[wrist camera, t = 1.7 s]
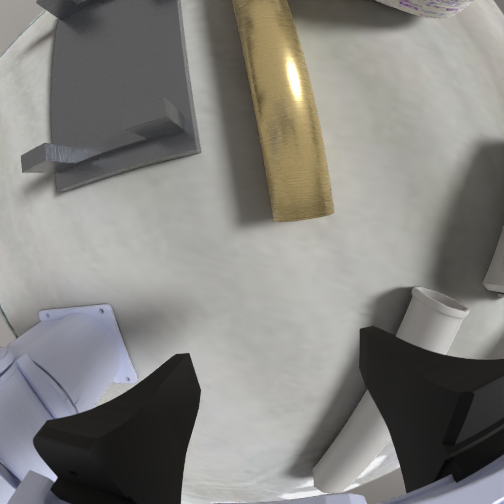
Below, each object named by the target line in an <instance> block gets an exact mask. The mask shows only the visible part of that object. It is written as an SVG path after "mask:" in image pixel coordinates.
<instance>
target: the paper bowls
mask: <svg viewBox="0 0 504 504" xmlns="http://www.w3.org/2000/svg"><path fill="white" fill-rule="evenodd" d="M375 1H377V2H380V3H382V4H385V5H387V6H390V7H394V8H397V9H399V10H402V11H405V12H407V13H410V14H414V15H417V16H421V17H426V18H448V17H451V16H453V15H455V14H457V13H458V12H460V11H461V10H462V9H464V8H465V7H466V6H468V5H469V4H470V3H471V2H472V1H473V0H375Z"/></svg>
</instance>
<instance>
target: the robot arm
mask: <svg viewBox="0 0 504 504" xmlns="http://www.w3.org/2000/svg"><path fill="white" fill-rule="evenodd" d="M101 309H103V311H104V312H102V311H101ZM48 314H49V315H48ZM38 315H39V318H40V321H41V322H39V323H38V324H37V325H35V326H34V327H32V328H31V329H30V330H28V331H27V332H25V333H24V334H23V335H21V336H20V337H18V338H17V339H16V340H14V341H13V342H12V343H10V344H9V345H8V346H7V347H6V348H3V347H0V460H1V461H2V462H3V463H4V465H5V466H4V465H3V464H2V463H1V462H0V504H181V490H182V480H183V471H184V464H185V457H186V452H187V448H188V444H189V441H190V437H191V434H192V430H193V427H194V424H195V420H196V417H197V413H198V409H199V403H200V394H201V389H200V386H199V383H198V379H197V376H196V373H195V370H194V367H193V364H192V360H191V357H190V354H189V353H185V354H175V355H174V356H173V357H171V358H170V359H169V360H167V361H166V362H165V363H164V364H162V365H161V366H160V367H159V368H158V369H156V370H155V371H154V372H153V373H151V374H150V375H149V376H148V377H146V378H145V379H144V380H142V381H141V382H140V383H138V384H137V385H135V386H134V387H133V388H131V389H130V390H128V391H127V392H125V393H123V394H122V395H120V396H118V397H116V398H115V399H113V400H111V401H109V402H106V403H104V404H102V405H100V406H97V407H95V405H96V404H97V402H98V401H99V400H100V398H101V397H102V395H103V394H104V392H105V391H106V390H107V388H108V387H109V385H110V384H111V383H136V382H137V380H138V377H137V375H136V372H135V370H134V367H133V365H132V362H131V360H130V357H129V355H128V352H127V350H126V347H125V344H124V342H123V339H122V336H121V333H120V330H119V328H118V325H117V322H116V319H115V316H114V313H113V310H112V307H111V306H110V305H109V304H100V305H90V306H80V307H70V308H59V309H48V310H41V311H39V313H38ZM359 368H360V371H361V374H362V377H363V380H364V382H365V385H366V387H367V389H368V391H369V393H370V395H371V397H372V399H373V400H374V402H375V404H376V406H377V408H378V410H379V412H380V414H381V415H382V417H383V419H384V421H385V423H386V425H387V428H388V430H389V433H390V436H391V438H392V441H393V444H394V447H395V450H396V454H397V457H398V460H399V464H400V467H401V471H402V475H403V479H404V483H405V488H406V493H407V494H405V495H401V496H399V497H396V498H393V499H390V500H387V501H384V502H381V503H377V504H504V359H498V360H476V359H465V358H458V357H452V356H448V355H443V354H440V353H436V352H432V351H429V350H426V349H423V348H421V347H418V346H416V345H413V344H411V343H409V342H406V341H404V340H402V339H400V338H398V337H396V336H394V335H392V334H390V333H388V332H386V331H384V330H381V329H379V328H377V327H375V326H370V327H366V328H361V329H360V362H359ZM127 377H128V378H129V379H128V378H127ZM94 407H95V408H94ZM215 504H367V502H366V500H365V498H364V496H361V495H357V494H351V493H346V492H344V493H335V494H324V495H319V496H313V497H306V498H299V499H291V500H282V501H271V502H256V503H215Z"/></svg>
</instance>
